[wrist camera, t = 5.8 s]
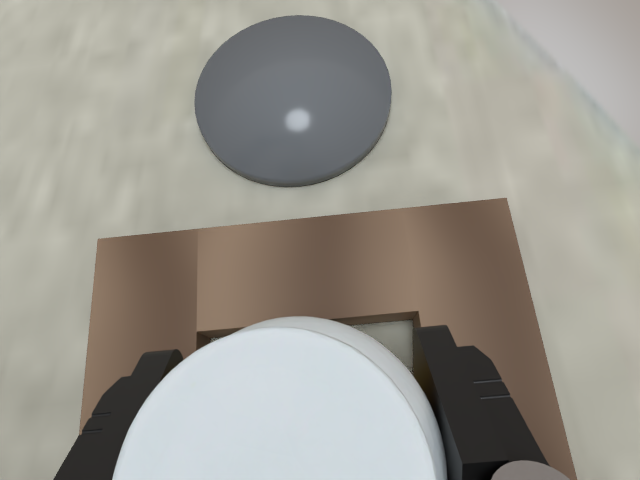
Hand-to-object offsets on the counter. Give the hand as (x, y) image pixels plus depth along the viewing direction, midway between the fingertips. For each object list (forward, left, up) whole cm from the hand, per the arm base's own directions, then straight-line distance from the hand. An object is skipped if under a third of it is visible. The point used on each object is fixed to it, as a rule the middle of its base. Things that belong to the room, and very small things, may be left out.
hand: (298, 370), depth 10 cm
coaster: (0, +11, -5) cm, 12 cm away
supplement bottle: (0, -2, -5) cm, 5 cm away
